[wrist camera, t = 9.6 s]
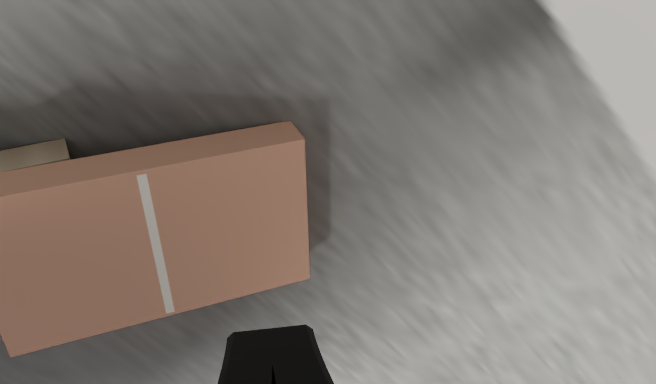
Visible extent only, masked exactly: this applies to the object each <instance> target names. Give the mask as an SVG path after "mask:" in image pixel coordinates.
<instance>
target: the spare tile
mask: <svg viewBox="0 0 656 384" xmlns="http://www.w3.org/2000/svg"><path fill="white" fill-rule="evenodd" d="M307 279H310V263H309V237H308V211H307V185H306V159H305V139H304V137H303V136H302V135H301V134H300V132H299V131H298V130H297V128H296V127H295V126H294V124H293V123H292V122H291V121H289V122H279V123H273V124H268V125H262V126H257V127H251V128H245V129H240V130H234V131H229V132H223V133H217V134H212V135H206V136H201V137H195V138H189V139H184V140H178V141H173V142H167V143H162V144H156V145H150V146H145V147H139V148H134V149H128V150H122V151H117V152H111V153H106V154H100V155H95V156H89V157H83V158H78V159H72V160H67V161H61V162H55V163H50V164H44V165H39V166H33V167H28V168H22V169H16V170H11V171H5V172H0V335H1V337H2V339H3V342H4V344H5V346H6V349H7V351H8V353H9V356H10V358H11V357H15V356H19V355H23V354H27V353H30V352H34V351H38V350H42V349H46V348H49V347H53V346H57V345H61V344H65V343H68V342H72V341H76V340H80V339H83V338H87V337H91V336H95V335H99V334H102V333H106V332H110V331H114V330H118V329H121V328H125V327H129V326H133V325H137V324H140V323H144V322H148V321H152V320H156V319H159V318H163V317H167V316H171V315H175V314H178V313H182V312H186V311H190V310H194V309H197V308H201V307H205V306H209V305H212V304H216V303H220V302H224V301H228V300H231V299H235V298H239V297H243V296H247V295H250V294H254V293H258V292H262V291H266V290H269V289H273V288H277V287H281V286H285V285H288V284H292V283H296V282H300V281H304V280H307Z"/></svg>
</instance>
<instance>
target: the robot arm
mask: <svg viewBox="0 0 656 384" xmlns="http://www.w3.org/2000/svg"><path fill="white" fill-rule="evenodd" d="M218 384H334V383H333V381H332V379H331V377H330V374H329V372H328V370H327V368H326V365H325V363H324V361H323V358H322V356H321V353H320V351H319V348H318V345H317V342H316V339H315V336H314V332H313V329H312V328H310V327H309V326H307V325H299V326H289V327H280V328H270V329H261V330H251V331H242V332H233V333H232V334H231V335H230V336H229V337H228V338H227V344H226V351H225V356H224V360H223V365H222V369H221V373H220V377H219V381H218Z"/></svg>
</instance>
